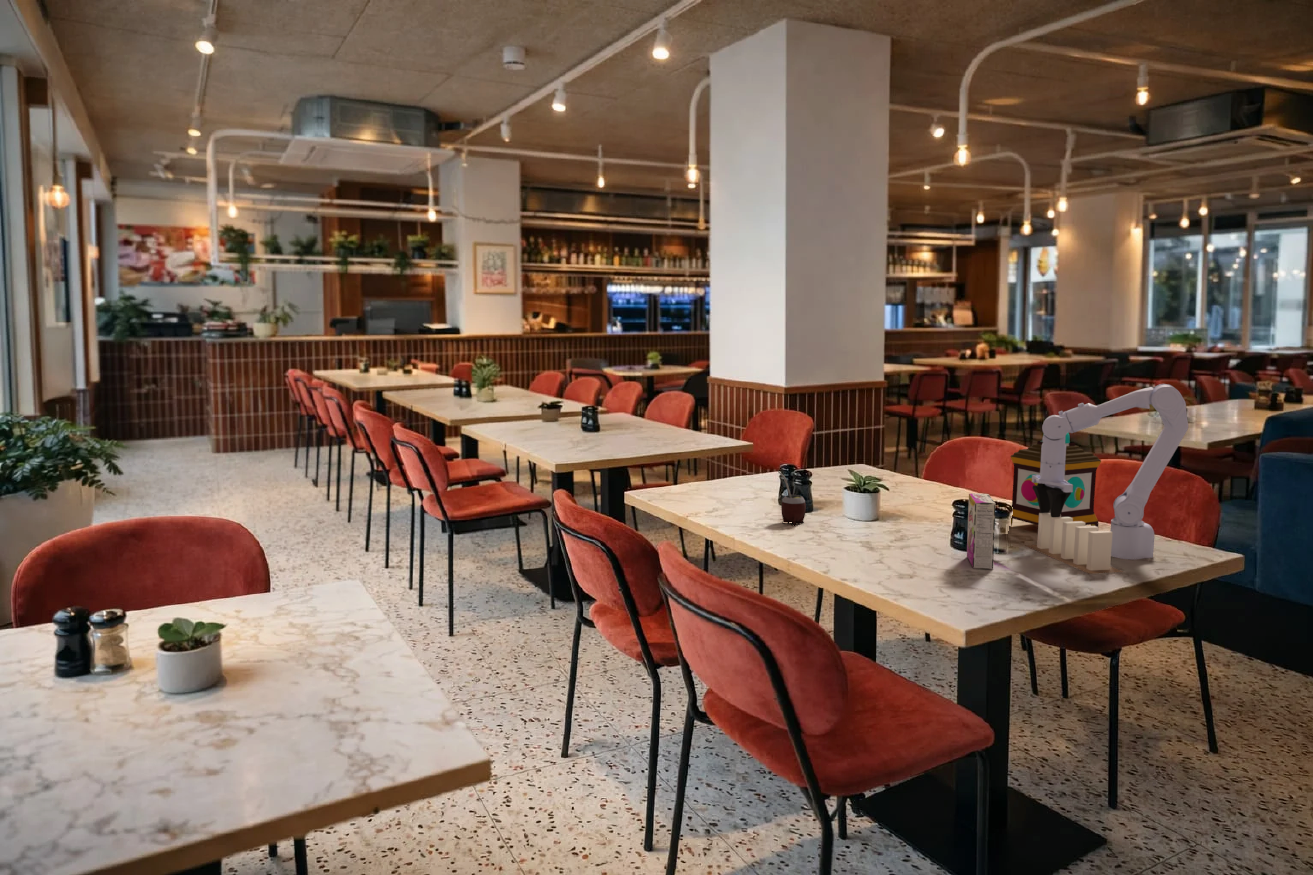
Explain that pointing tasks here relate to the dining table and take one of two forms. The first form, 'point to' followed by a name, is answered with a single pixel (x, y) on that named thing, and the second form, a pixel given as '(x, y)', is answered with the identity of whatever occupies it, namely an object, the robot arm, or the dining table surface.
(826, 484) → the dining table surface
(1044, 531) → the domino
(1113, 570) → the walnut board
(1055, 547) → the domino
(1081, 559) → the domino
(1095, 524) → the decorative lantern
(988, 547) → the candy bar box
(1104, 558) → the domino
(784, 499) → the mate gourd
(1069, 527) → the domino
